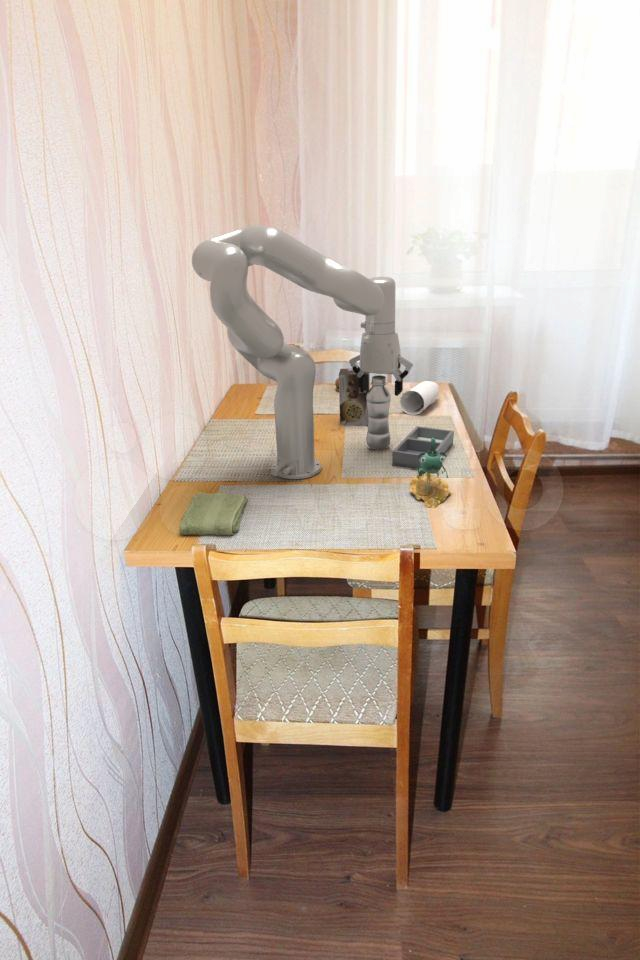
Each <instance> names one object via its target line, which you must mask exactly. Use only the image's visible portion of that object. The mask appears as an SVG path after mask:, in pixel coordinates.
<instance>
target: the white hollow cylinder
mask: <svg viewBox="0 0 640 960" xmlns="http://www.w3.org/2000/svg"><path fill="white" fill-rule="evenodd" d="M439 388H440V386H439V385H438V384H437V383H436V382H435V381H430V380H429V381H428V380H424V381H421V382H420V383H418V384H417V385H414V387H412V388H410V389H409V390H406V391H405V392H403V393H402V395H401V396H400V399H399V403H400V404H399V405H400V408H401V409H402V410H403V412H404V413H406V414H407V415H413V416H416V415H418V414H421V413H422V412H423V411H424V410H426V409H427V407H429V406H431V405H432V404H434V402H436V400H437V398H438V396H439V395H440V394H439V393H440V389H439ZM422 406H423V407H422Z"/></svg>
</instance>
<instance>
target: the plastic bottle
mask: <svg viewBox="0 0 640 960" xmlns="http://www.w3.org/2000/svg"><path fill="white" fill-rule="evenodd" d="M370 385H372V386H371V387H370V390H369V391H368V393H367V396H366V400H367V407H368V420H369V421H368V426H367V432H366V438H365V441H366V444H367V446H368V448H370V449H373V450H385V449H387V448H388V447H389V445H390V443H391V434H390V425H389V415H390V405H391V398H392V397H391V396H392V395H391V393H390V391H389V389H388V387H387V386H386V385H387V377H386V376H385V375H382V374H381V375H380V374H379V375H374V376H371V384H370Z"/></svg>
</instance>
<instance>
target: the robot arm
mask: <svg viewBox="0 0 640 960" xmlns="http://www.w3.org/2000/svg"><path fill="white" fill-rule="evenodd" d="M191 255H192V256H191V264H192V268H193V270H194V272H195V273H196V275H197V276H198V277H200V278H201V279H203V280H204V281H208V282H210V285H209V286H210V287H209V296H210V304H211V307H212V310H213V313H214V314H215V316H216V317H217V319H218V320H219V321H220V322H221V323H222V324H223V325H224V326H225V327H226V328H227V339H228V341H229V343H230V344H231V345H232V347H233V348H234V349H235V350H236V351H237V352H238V353H239V354H240V355H241V356H242V357H243V358H244V359H245V360H246V361H247V362H248V363H249V364H250V365H251V366H253V368H254V369H255V370H257V371H258V372H259V373H260V374H261V375H263V376H265V377H266V378H267V379H270V380H272V381H274V382H276V383H277V387H276V389H275V390H276V391H275V395H274V401H273V404H274V405H273V406H274V407H273V409H274V422H275V425H274V426H275V438H276V439H275V441H276V457H277V458H276V461H275V462H273V463H272V464H271V468H270V469H271V470H270V474H271V475H272V476H273V477H275V476H276V477H279V478H282V479H285V480H303V479H307V478H311V477H314V476H316V475H318V474H319V473H320V472H321V470H322V464H321V462H320V461H319V460H318V459H316V457H315V429H314V428H315V421H314V387H315V380H316V372H317V369H316V368H317V366H316V363H315V360H314V359H313V357H312V355H311V354H310V353H309V352H307V351H306V350H304V349H303V348H300V347H298V346H295V345H293V344H289V343H286V342H285V338H284V334H283V331H282V329H281V327H280V326H279V325H278V323H277V322H276V321H275V320H274V319H272V318H271V316H269V315H268V314H267V313H266V312H265V311H264V309H262V308H261V306H259V305H258V304H257V302H256V301H255V300H254V298H253V297H252V296H251V295H250V293H249V290H248V287H247V286H248V284H247V283H248V274H249V267H251V266H253V265H256V266H262V267H265V268H266V269H268V270H270V271H271V272H273V273H275V274H277V275H279V276H281V277H283V278H284V279H286V280H288V281H290V282H292V283H294V284H295V285H297V286H299V287H300V288H303V289H304V290H307V291H309V292H313V293H316V294H319V295H324V296H326V297H330V298H332V300H333V302H334V305H336V306H337V307H338V308H339V309H341V310H342V311H346V312H349V313H355V314H359V315H364V316H365V321H364V322H361V323H360V328H362V329H364V332H362V334H361V341H360V348H359V349H360V350H359V354H358V355H356V356H354V357H352V358H350V359H349V360H348V362H349V364H350V366H351V367H352V368H351V369H353V371H354V372H355V373H356V374H357V377H358V378H359V388H360V392H364V391H365V390H367V376H366V375H365V373H366V372H367V373H370V374H379V375H380V374H381V375H393V377H394V378H395V379H396V380H395V381H394V397H395V396H396V397H398V396H399V395H400V394H401V393H402V392H403V389H404V388H403V387H404V378H406V377H407V376H408V375H409V374H410V372H411V370H412V369H413V366H414V364H413V363H412V362H411V361H409V360H407V359H406V358H404V357H403V356H401V347H400V345H401V343H400V339H399V334H398V332H396V281H395V279H393V277H388V276H374V277H369V278H368V277H366V276H365V275H363V274H361V273H360V272H358V271H356V270H355V269H352V268H350V267H348V266H346V265H343V264H342V263H340V262H337V261H336V260H334V259H332V258H330V257H328V256H326V255H324V254H322V253H320V252H318V251H317V250H315V249H313V248H312V247H310V246H308V245H306V244H305V243H304V242H302V241H300V240H299V239H297V238H295V237H294V236H291V234H289V233H287V232H286V231H284V230H281V229H280V228H277V227H275V226H270V225H259V224H258V225H257V224H255V225H254V224H253V225H249V226H245V227H243V228H240V229H239V228H238V229H237V230H234V231H231V232H227V233H225V234H221V235H218V236H215V237H212V238H210V239H207V240H204V241H202V242H201V243H199V244H198V245H197V246H196V247H195V249H194V250H193V253H192V254H191ZM358 361H359V363H357V362H358ZM358 364H359V365H358ZM401 365H402V366H404V368H405V369H404V371H401Z"/></svg>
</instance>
